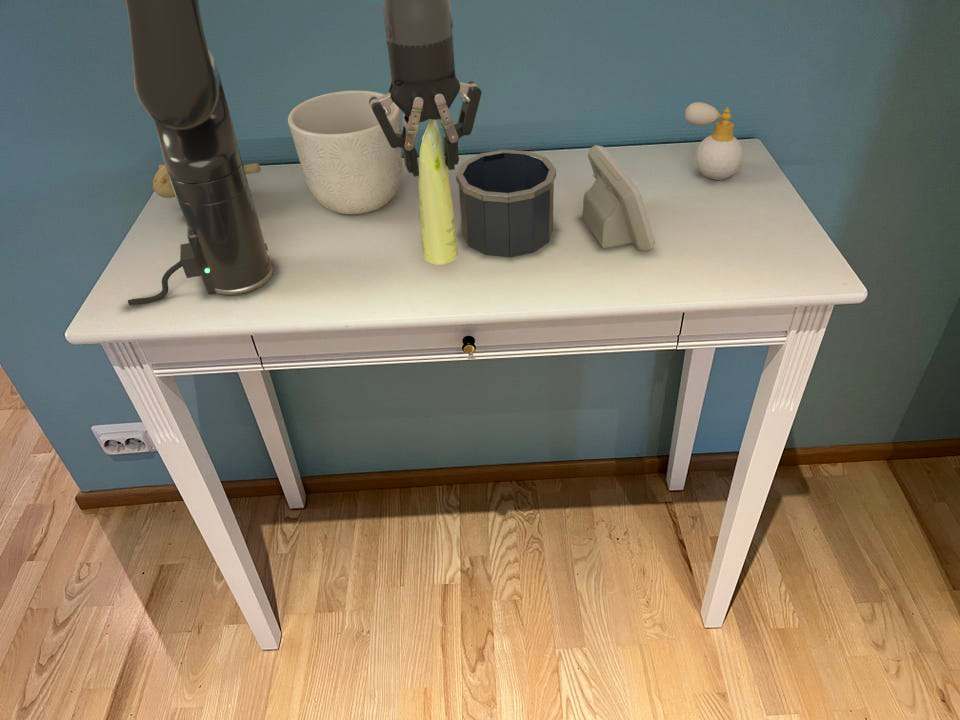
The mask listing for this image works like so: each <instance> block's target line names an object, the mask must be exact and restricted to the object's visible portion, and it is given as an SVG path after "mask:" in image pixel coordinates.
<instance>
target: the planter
mask: <svg viewBox="0 0 960 720" xmlns="http://www.w3.org/2000/svg"><path fill="white" fill-rule="evenodd" d="M383 95H385V93H381V92H377V91H372V90H371V91H370V90H341V91H335V92H329V93H325V94H324V93H323V94H321V95H318V96H314V97H311V98H308V99H307V100H304V101H302V102H300V103H299V104H297V105H296V106H295V107H294V108H293V109H292V110H291V111H290V113H289V114H288V116H287V123H288V127H289V130H290V133H291V137H292V140H293V143H294V146H295V150H296V154H297V157H298V160H299V163H300V167H301V170H302V173H303V177H304V179H305V183H306V185H307V186H308V189H309V191H310V193H311V194H312V196H313V197H314V198H315V199H316V201H317V202H318V203H319V204H321V205H322V206H323V207H324V208H326V209H328V210H330V211H332V212H334V213H339V214H344V215H362V214H368V213H371V212H373V211H374V212H375V211H376V210H378V209H380V208H382V207H384V206H386V205H387V204H388V203H389V202H390V201H392V199H394V197H395V195H396V194H397V192H398V191H399V189H400V186H401V182H402V177H403V148H400V147H397V148H392V147H391V146H390V144H389V142H388V140H387V138H386V136H385V134H384V132H383V130H382V128H381V126H380V124H379V122H378V120H377V118H376V116H375V114H374V112H373V110H372V108H371V106H370V104H369V100H370V98H371V97H377V98H379V97H381V96H383ZM390 109H391V113H390V114H389V115H388V116H387V118H388V120H389V122H390V124H391V126H392V128H393V130H394V132H395V133H399V134H401V132H402V127H401V109H400V108H399V107H398V106H397V105H396V104H395V103H394V102H393V103H392V104H391V106H390Z"/></svg>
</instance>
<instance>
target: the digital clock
mask: <svg viewBox="0 0 960 720" xmlns="http://www.w3.org/2000/svg"><path fill="white" fill-rule="evenodd" d="M587 157H588V160H589V164H590V166H591V169H592V173H593V174H592V177H593V178H595V180H594V183H592V186H591V187H590V188H589V189H588V190H587V191H585V192H584V195H583V201H582V203H583V204H582V215H581V216H582V220H583V221H584V223H585V224H586V226H587V227H588V229H589V230H590V231H591V233H592V235H593V236H594V237H595V239H596V240H597V242H598V243H599V245H600V246H601V247H602V248H603V249H607V248H613V247H618V246H623V245H624V246H625V245H629V244H630V245H631V244H634V246H635V247H636V248H637V250H638V251H641V252H650V251H652V250H653V247H654V246H655V237H654V234H653V231H652V230H653V229H652V227H651V223H650V220H649V217H648V214H647V209H646V206H645V204H644V200H643V197H642V193H641V191H640V188H638V186H637V185H636V184H635V182H634V181H633V180H632V179H631V178H630V177H629V175H628V174H627V173H626V172H625V171H624V169H623V168H622V167H621V166H620V165H619V164H618V162H617V161H616V160H615V159H614V157H613V156H612V155H611V154H610V153H609V152H608V151H607V150H606V148H605V147H604V146H602V145H597V144H594V145H593V146H592V147H590V148H589V150H588V152H587Z"/></svg>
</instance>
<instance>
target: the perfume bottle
mask: <svg viewBox="0 0 960 720" xmlns="http://www.w3.org/2000/svg"><path fill="white" fill-rule="evenodd" d="M730 112H731V109H730V107H729V106H727V107H726V108H725V109H724V112H723V113H722V114H721V113H720V112H719V111H718V109H717V108H716V107H714V106H713V105H710V104H709V103H706V102H701V101H696V102H692V103H690V104H689V105H688V106H687V107H686V109H685V111H684V118H685V120H686V122H687V123H689V124H690V125H693V126H706V125H709V124H712V123H714V122H715V121H716V122H715V124H714V129H713V132H712V134H710V135H708V136H707V137H705V138H704V139H703V140H702V141H701V142H700V143H699V145H698V146H697V148H696V150H695V151H696V152H695V154H694V155H695V156H694V157H695V158H694V159H695V160H694V163H695V165H696V169H697V170H698V172H700V174H701V175H702V176H704V177H705V178H708V179H710V180H716V181H720V180H726V179H728V178H730V177H732V176H733V175H734V174H736V173H737V172H738V170H739V169H740V168H741V165H742V162H743V160H744V150H743V147H742V144H741V142H740V141H739V140H738V139H737V137H735V136H734V129H735V124H734V122H733V121H732V122H731V121H729V120H731V118H732V113H730ZM720 118H721V119H722V120H718V119H720ZM717 120H718V121H717Z"/></svg>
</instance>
